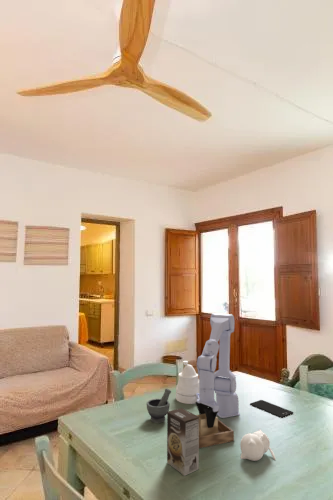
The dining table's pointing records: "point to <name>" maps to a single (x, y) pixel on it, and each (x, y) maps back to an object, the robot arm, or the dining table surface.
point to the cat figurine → (255, 446)
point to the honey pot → (187, 385)
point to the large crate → (217, 436)
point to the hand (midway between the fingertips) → (206, 424)
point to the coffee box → (183, 441)
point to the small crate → (204, 428)
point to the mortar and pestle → (159, 407)
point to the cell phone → (271, 408)
